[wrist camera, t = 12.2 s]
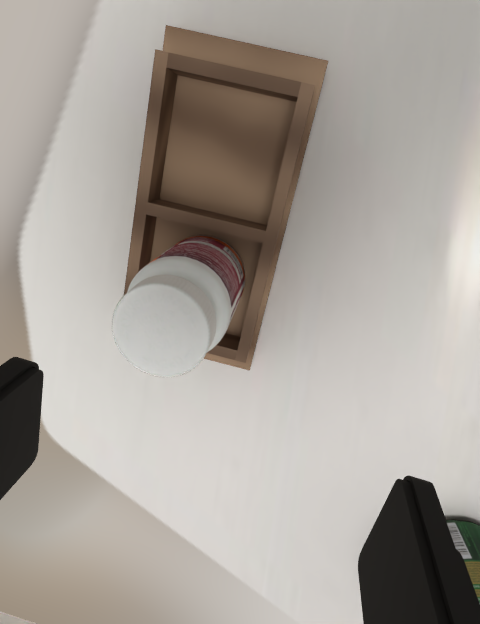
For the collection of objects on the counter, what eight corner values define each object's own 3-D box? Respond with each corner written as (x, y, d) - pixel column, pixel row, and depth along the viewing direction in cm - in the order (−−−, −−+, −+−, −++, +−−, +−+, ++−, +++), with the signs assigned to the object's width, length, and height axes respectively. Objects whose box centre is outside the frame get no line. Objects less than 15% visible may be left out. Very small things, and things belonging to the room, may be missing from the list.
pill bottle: (168, 227, 32) (101, 262, 21) (252, 241, 31) (226, 283, 21) (162, 306, 34) (98, 374, 23) (240, 320, 33) (211, 396, 23)
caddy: (172, 31, 29) (153, 12, 25) (326, 65, 28) (330, 51, 24) (131, 330, 36) (111, 350, 33) (251, 362, 36) (245, 385, 32)
